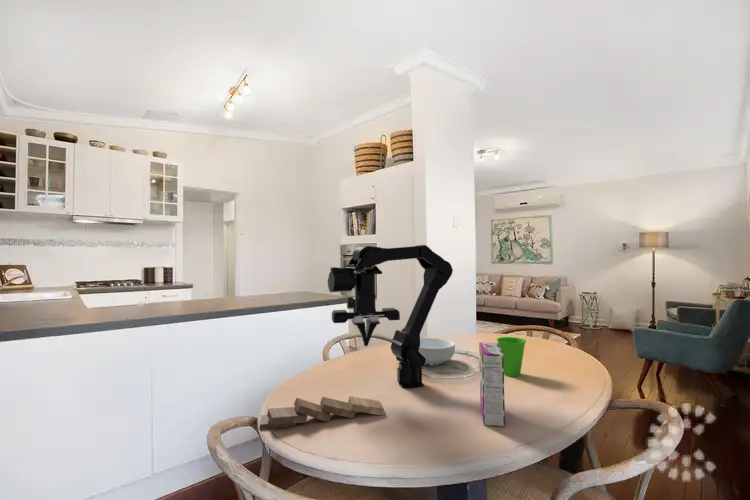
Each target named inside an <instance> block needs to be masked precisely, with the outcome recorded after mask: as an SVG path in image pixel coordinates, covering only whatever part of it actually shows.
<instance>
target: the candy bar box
mask: <svg viewBox="0 0 750 500" xmlns="http://www.w3.org/2000/svg"><path fill="white" fill-rule="evenodd" d="M478 348H479V349H478V357H479V358H478V359H479V363H478V364H479V392H480V393H479V394H480V395H479V397H480V399H479V400H480V402H479V404H480V410H481V411H480V412H481V415H482V416H481V417H482V422H483V425H484V426H485V427H486V426H487V427H496V428H498V427H500V428H505V427H506V420H505V419H506V416H505V415H506V411H505V410H506V409H505V408H506V407H505V405H506V403H505V375H504V359H503V358H504V355H503V353H502V351H501V348H500V346H499V344H498V342H482V341H481V342H479V343H478Z"/></svg>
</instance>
